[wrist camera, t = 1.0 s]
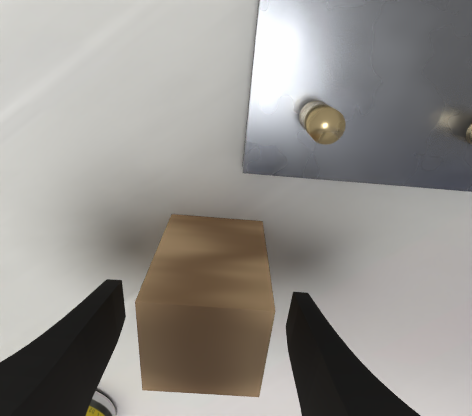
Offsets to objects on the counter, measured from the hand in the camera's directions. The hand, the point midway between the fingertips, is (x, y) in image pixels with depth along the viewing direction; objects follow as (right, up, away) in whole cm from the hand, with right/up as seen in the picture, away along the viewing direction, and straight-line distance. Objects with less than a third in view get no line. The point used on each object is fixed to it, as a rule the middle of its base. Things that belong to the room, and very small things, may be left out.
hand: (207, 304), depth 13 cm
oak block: (0, +2, +3) cm, 4 cm away
